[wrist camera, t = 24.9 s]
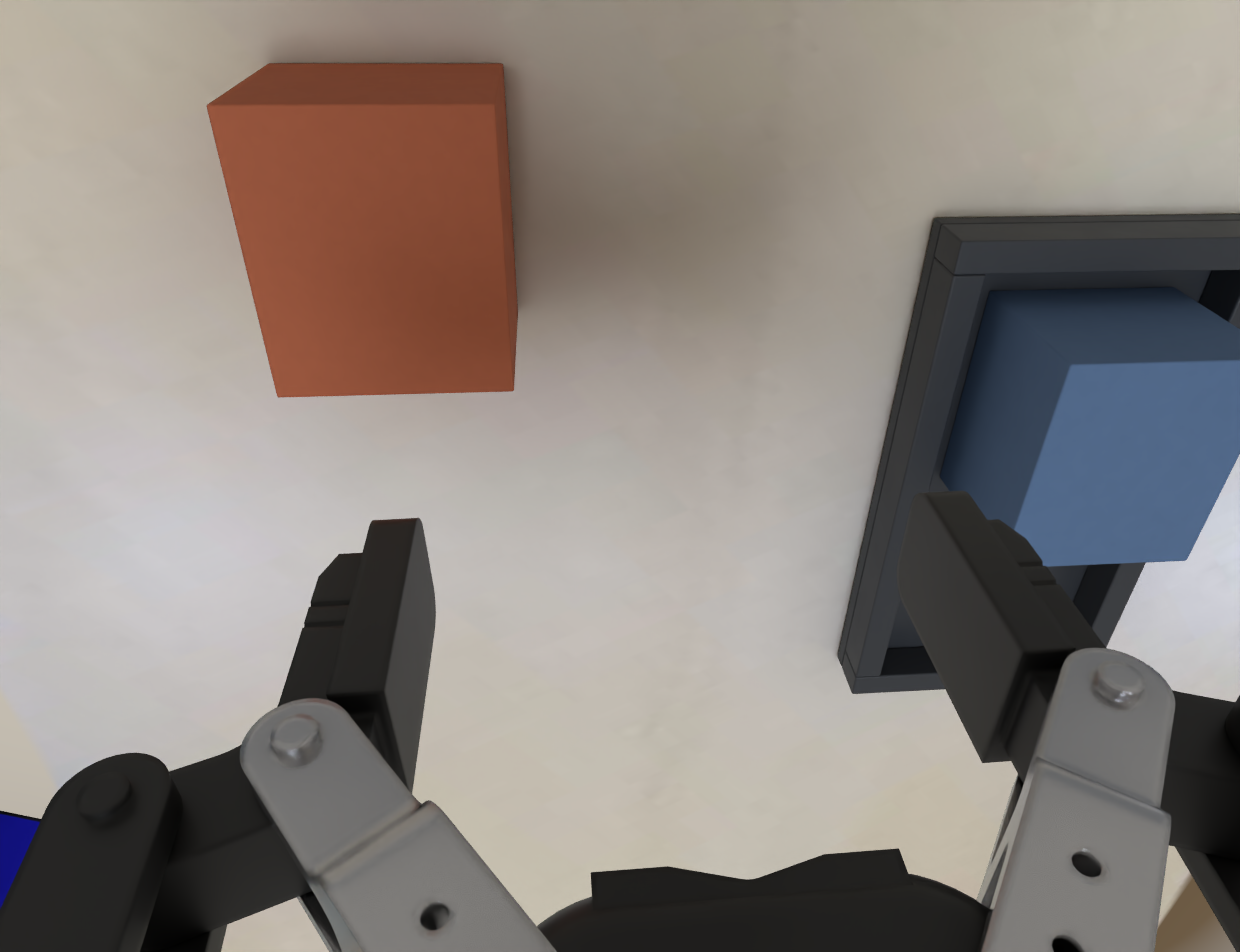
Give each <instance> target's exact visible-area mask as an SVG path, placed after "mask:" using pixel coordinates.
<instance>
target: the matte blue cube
mask: <svg viewBox="0 0 1240 952" xmlns="http://www.w3.org/2000/svg"><path fill="white" fill-rule="evenodd" d="M1239 454H1240V329H1239V328H1237V327H1235V326H1234V325H1232V324H1231V323H1229V322H1228V321H1226V320H1224V319H1223V318H1221V317H1220V316H1218V315H1217V314H1215V313H1214V312H1212V311H1210V310H1209V309H1207V308H1206V307H1204V306H1203V305H1201V304H1199V303H1198V302H1196V301H1195V300H1193V299H1192V298H1190V297H1189V296H1187V295H1185V294H1184V293H1182V292H1181V291H1179V290H1178V289H1176V288H1174V287H1161V288H1111V289H1062V290H1013V291H990V292H989V296H988V299H987V303H986V307H985V311H984V314H983V318H982V322H981V325H980V329H979V333H978V337H977V340H976V344H975V348H974V352H973V355H972V359H971V363H970V366H969V370H968V374H967V378H966V381H965V385H964V389H963V392H962V396H961V400H960V404H959V407H958V411H957V415H956V419H955V422H954V426H953V430H952V433H951V437H950V441H949V445H948V448H947V452H946V456H945V459H944V463H943V467H942V471H941V474H940V478H941V479H942V481H943V482H944V484H945V485H946V487H947V488H948V490H949V491H966V492H967V493H969V495H970V496H971V497H972V498H973V500H974V501H975V503H976V504H977V506H978V507H979V509H980V510H981V511H982V513H983V514H984V516H985V517H986V519H987V520H995V519H999V520H1001V521H1002V522H1004V523H1005V524H1006V525H1008V526H1009V527H1011V528H1012V529H1013V530H1015V531H1016V532H1018V533H1019V534H1020V535H1022V536H1023V537H1025V538H1026V539H1027V540H1028V542H1029V543H1030V545H1031V546H1032V547H1033V549H1034V550H1035V551H1036V553H1037V554H1038V555H1039V557H1040V558H1041V560H1042V561H1043V566H1047V567H1049V566H1072V565H1096V564H1119V563H1142V562H1165V561H1185V560H1187V558H1188V556H1189V554H1190V552H1191V550H1192V548H1193V546H1194V544H1195V542H1196V540H1197V538H1198V536H1199V534H1200V532H1201V530H1202V528H1203V526H1204V524H1205V522H1206V520H1207V518H1208V516H1209V514H1210V512H1211V510H1212V508H1213V506H1214V504H1215V502H1216V500H1217V498H1218V496H1219V494H1220V492H1221V490H1222V488H1223V486H1224V484H1225V482H1226V480H1227V478H1228V476H1229V474H1230V472H1231V470H1232V468H1233V466H1234V464H1235V462H1236V460H1237V458H1238V456H1239Z"/></svg>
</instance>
